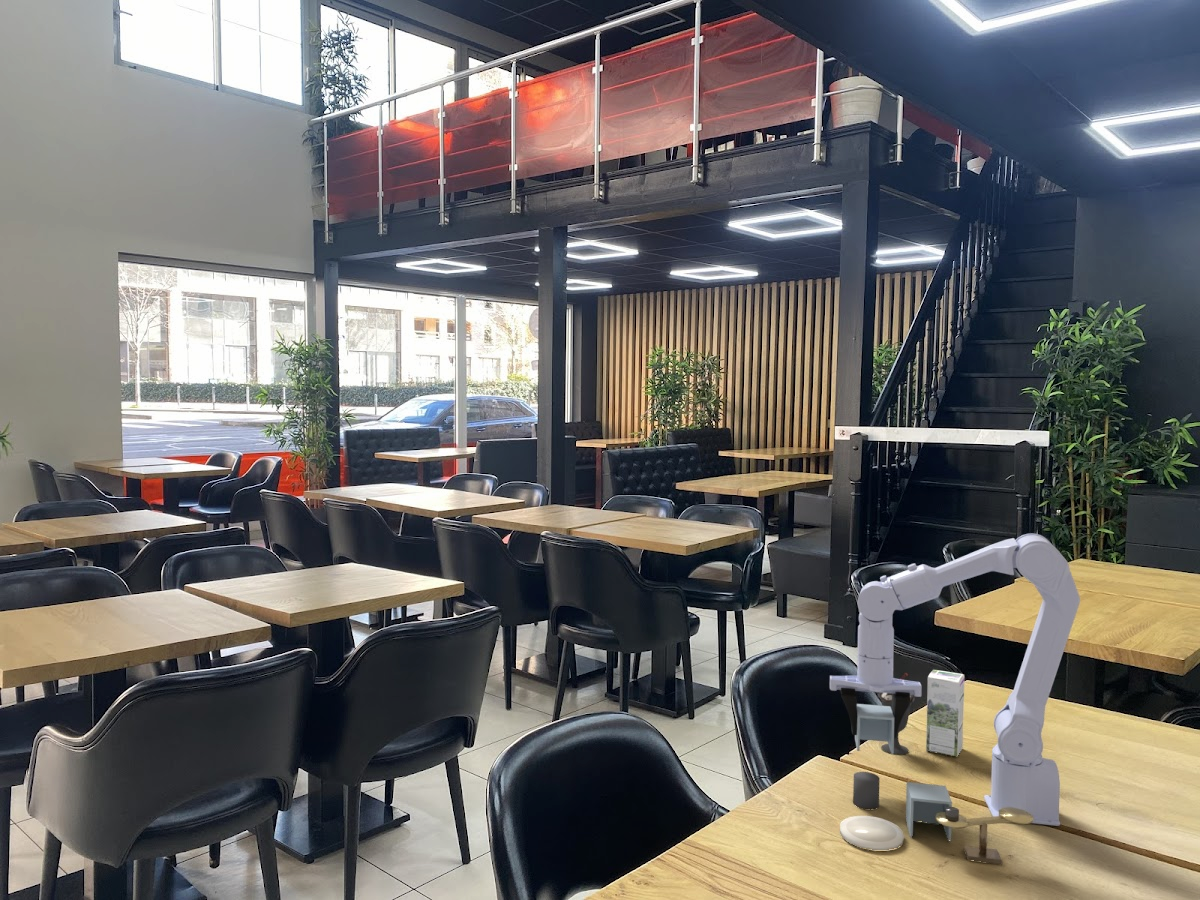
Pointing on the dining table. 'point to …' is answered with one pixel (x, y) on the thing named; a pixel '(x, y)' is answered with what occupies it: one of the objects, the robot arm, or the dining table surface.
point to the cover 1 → (875, 724)
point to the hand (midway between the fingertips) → (873, 734)
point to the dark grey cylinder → (866, 790)
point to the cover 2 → (926, 804)
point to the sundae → (898, 748)
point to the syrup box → (945, 712)
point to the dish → (871, 833)
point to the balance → (983, 829)
